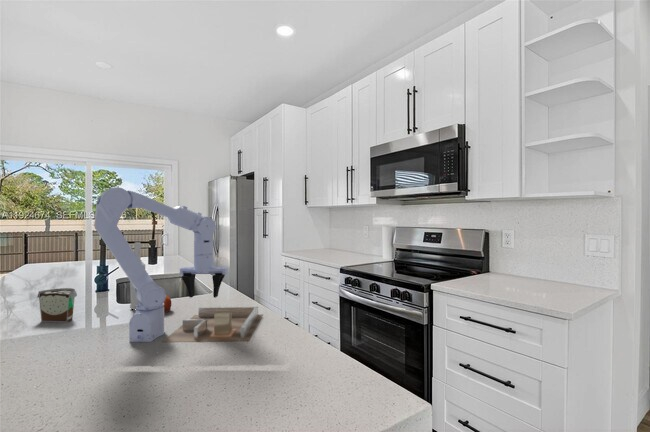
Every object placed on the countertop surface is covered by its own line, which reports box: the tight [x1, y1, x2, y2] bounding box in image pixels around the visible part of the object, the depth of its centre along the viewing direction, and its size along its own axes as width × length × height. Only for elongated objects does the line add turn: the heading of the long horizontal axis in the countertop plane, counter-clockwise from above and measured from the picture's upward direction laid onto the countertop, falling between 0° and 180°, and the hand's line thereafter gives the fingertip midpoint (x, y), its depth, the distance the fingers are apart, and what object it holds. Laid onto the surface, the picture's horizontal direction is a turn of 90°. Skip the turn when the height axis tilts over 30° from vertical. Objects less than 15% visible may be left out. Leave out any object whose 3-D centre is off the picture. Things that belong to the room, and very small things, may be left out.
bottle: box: [129, 242, 146, 310], centre depth 125 cm, size 5×5×25 cm
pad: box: [210, 329, 236, 337], centre depth 96 cm, size 6×6×1 cm
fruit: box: [164, 295, 172, 315], centre depth 117 cm, size 8×8×8 cm
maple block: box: [214, 310, 232, 335], centre depth 96 cm, size 4×4×6 cm
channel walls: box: [182, 306, 259, 339], centre depth 102 cm, size 21×20×3 cm
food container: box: [36, 287, 78, 323], centre depth 113 cm, size 12×6×10 cm, turn 84°
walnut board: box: [161, 314, 264, 343], centre depth 102 cm, size 24×24×1 cm
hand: (203, 296), depth 105 cm, fingers open, 7 cm apart
